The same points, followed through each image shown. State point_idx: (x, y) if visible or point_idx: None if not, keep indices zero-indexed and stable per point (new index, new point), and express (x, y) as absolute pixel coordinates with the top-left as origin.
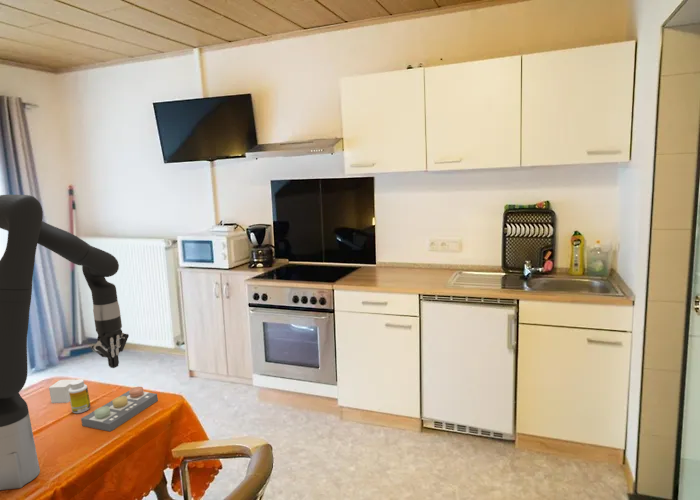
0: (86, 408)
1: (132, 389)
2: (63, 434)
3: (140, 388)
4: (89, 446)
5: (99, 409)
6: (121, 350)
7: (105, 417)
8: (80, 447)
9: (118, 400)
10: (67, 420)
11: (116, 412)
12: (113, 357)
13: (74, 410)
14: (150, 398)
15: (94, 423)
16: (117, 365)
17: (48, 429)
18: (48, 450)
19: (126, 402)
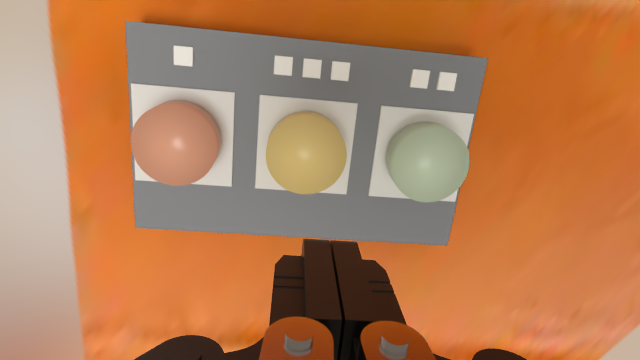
0: None
1: (180, 171)
2: (501, 250)
3: (152, 129)
4: (588, 60)
5: (428, 183)
6: (200, 347)
7: None
8: (594, 96)
9: (320, 153)
10: None
11: (374, 113)
12: (379, 322)
13: None
14: (185, 27)
15: None
16: (316, 242)
17: (470, 334)
18: (609, 212)
19: (299, 112)
